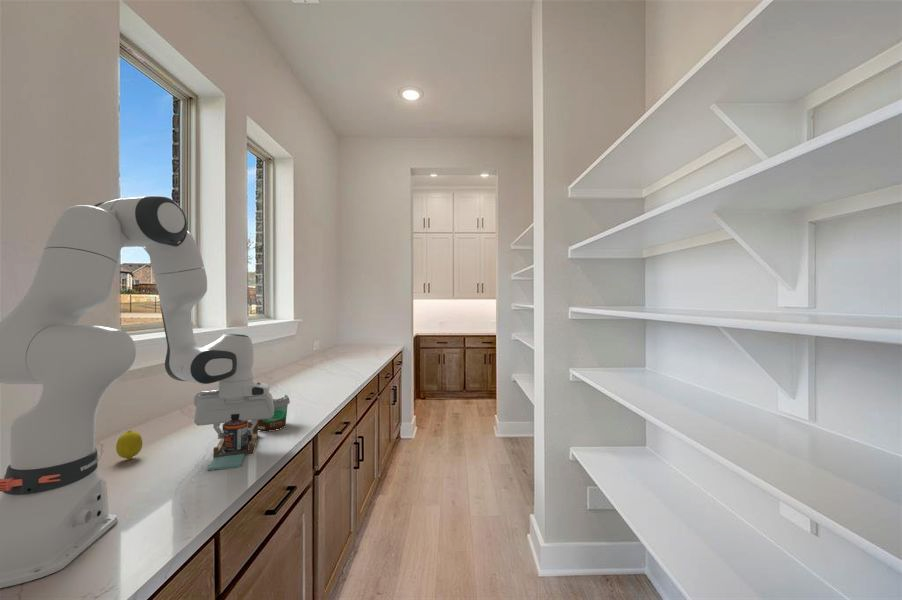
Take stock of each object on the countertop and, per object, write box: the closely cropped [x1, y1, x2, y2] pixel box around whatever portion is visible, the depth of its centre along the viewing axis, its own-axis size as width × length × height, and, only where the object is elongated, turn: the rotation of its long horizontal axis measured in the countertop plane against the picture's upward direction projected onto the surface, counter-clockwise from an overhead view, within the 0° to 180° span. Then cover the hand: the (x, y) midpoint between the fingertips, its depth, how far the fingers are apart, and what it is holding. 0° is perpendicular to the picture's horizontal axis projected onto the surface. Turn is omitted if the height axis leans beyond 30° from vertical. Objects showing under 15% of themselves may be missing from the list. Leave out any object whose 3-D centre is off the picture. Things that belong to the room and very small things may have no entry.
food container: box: [258, 394, 291, 432], centre depth 133 cm, size 12×6×10 cm, turn 148°
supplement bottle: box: [223, 414, 248, 453], centre depth 113 cm, size 6×6×11 cm
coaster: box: [207, 454, 245, 472], centre depth 104 cm, size 8×8×1 cm
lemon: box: [115, 429, 143, 460], centre depth 106 cm, size 6×6×8 cm
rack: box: [212, 420, 259, 459], centre depth 116 cm, size 16×10×5 cm, turn 22°
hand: (235, 436), depth 113 cm, fingers closed on supplement bottle, 6 cm apart
